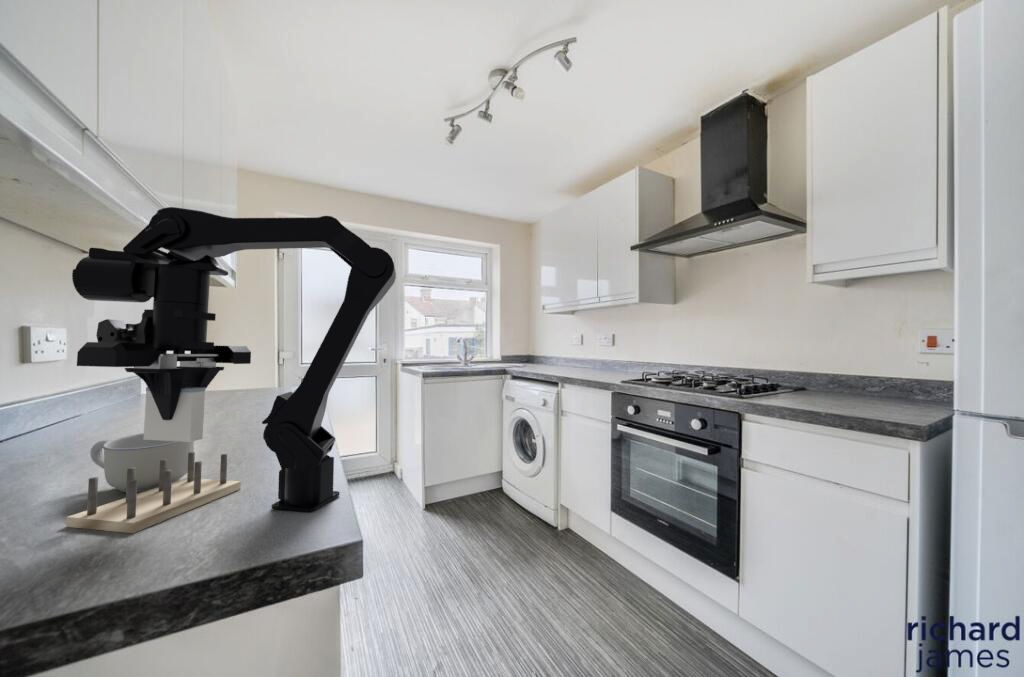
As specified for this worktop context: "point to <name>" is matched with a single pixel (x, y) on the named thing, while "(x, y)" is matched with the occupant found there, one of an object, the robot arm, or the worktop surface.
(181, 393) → the white square block
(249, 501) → the worktop surface
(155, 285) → the robot arm
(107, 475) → the teacup
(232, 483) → the dish rack
